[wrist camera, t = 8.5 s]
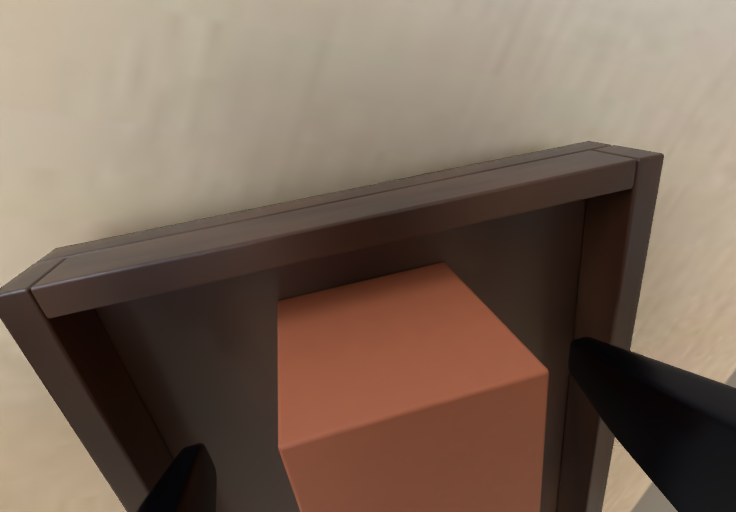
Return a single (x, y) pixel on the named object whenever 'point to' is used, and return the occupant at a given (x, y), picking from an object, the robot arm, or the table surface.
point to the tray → (321, 272)
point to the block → (408, 399)
